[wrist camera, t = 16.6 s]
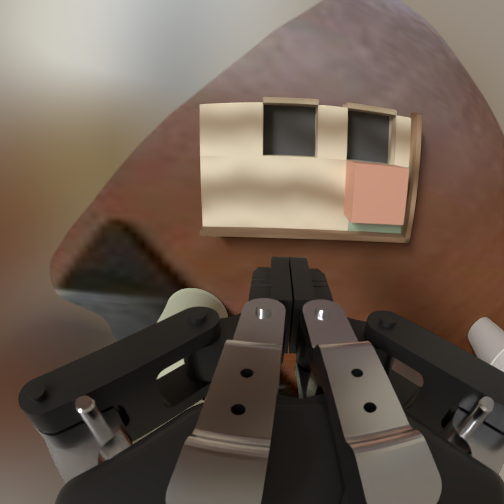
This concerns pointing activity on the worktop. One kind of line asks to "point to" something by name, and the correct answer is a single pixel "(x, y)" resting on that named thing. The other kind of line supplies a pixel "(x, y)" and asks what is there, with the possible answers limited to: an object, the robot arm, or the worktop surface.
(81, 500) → the robot arm
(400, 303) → the worktop surface
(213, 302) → the can
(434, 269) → the worktop surface
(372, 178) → the salmon pink square block
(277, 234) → the board
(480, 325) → the dixie cup
